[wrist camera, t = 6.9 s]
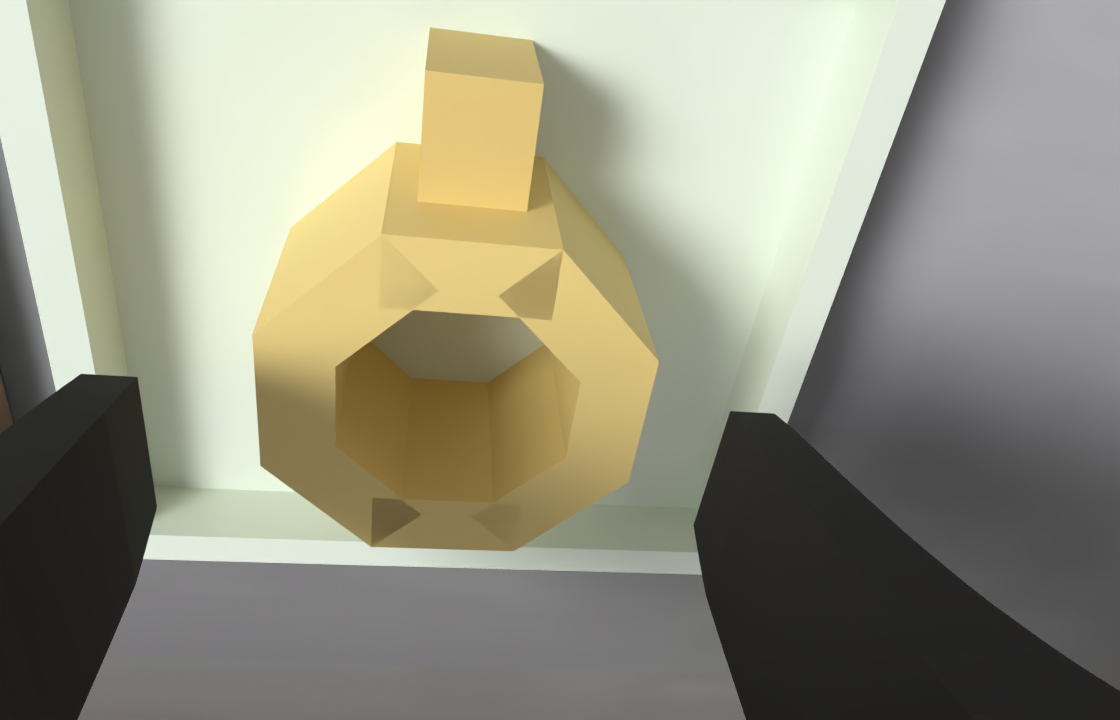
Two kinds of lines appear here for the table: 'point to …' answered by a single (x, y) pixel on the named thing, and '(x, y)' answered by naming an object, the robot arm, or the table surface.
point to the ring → (455, 287)
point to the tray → (396, 116)
